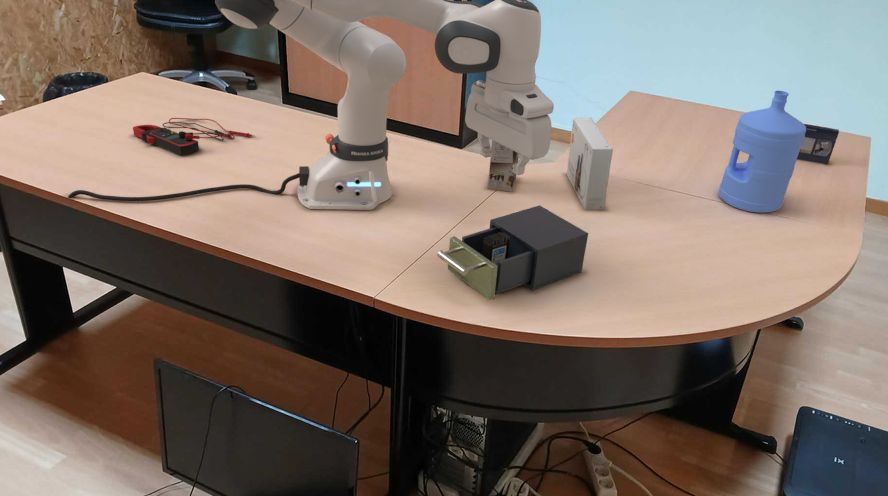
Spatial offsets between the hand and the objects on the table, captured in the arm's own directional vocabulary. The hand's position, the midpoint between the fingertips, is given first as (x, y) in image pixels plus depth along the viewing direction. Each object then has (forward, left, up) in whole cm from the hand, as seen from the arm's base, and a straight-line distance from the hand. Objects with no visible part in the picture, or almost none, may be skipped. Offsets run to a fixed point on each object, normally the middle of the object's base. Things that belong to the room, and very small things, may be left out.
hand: (501, 164), depth 139 cm
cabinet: (+9, -1, -23) cm, 25 cm away
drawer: (-4, -6, -22) cm, 23 cm away
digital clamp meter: (-58, +81, -23) cm, 103 cm away
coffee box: (+17, +39, -23) cm, 48 cm away
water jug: (+77, +19, -23) cm, 82 cm away
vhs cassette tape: (+110, +43, -23) cm, 120 cm away
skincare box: (+36, +31, -23) cm, 53 cm away
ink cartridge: (-1, -5, -21) cm, 22 cm away
